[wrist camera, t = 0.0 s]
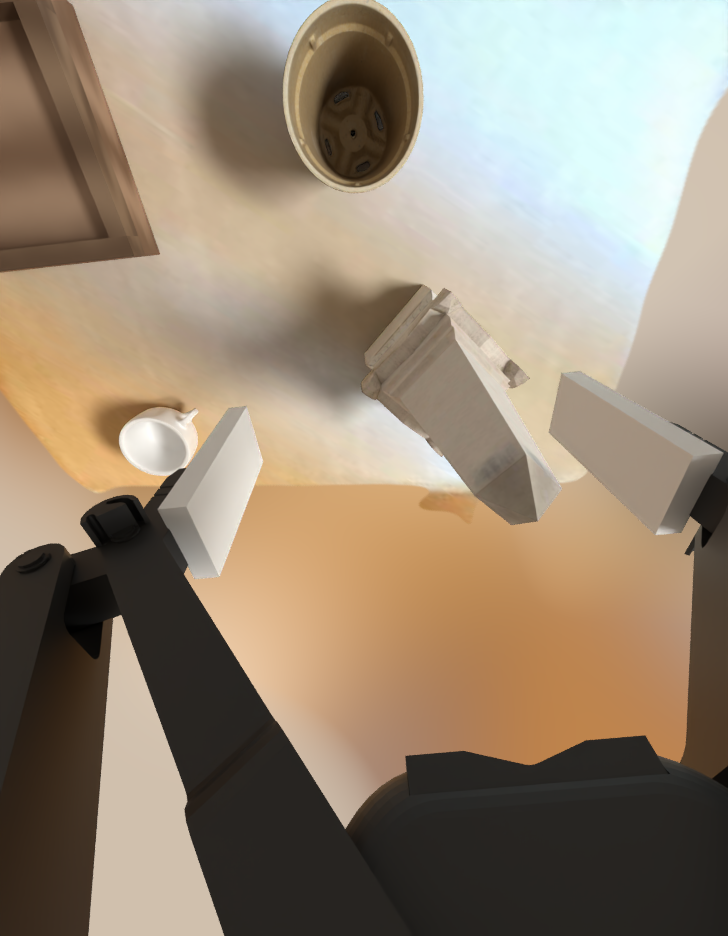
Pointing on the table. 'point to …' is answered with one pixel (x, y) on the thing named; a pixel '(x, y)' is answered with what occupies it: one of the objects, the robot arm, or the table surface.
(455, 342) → the miniature monument
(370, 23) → the flower pot
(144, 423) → the teacup
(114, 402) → the table surface
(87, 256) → the walnut stand
